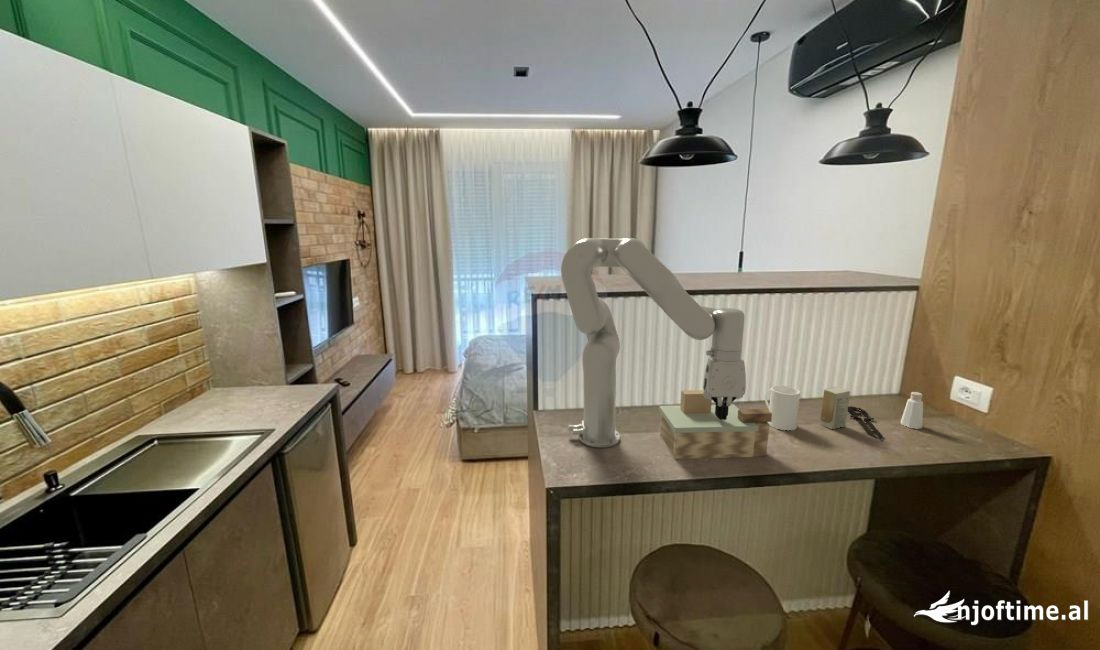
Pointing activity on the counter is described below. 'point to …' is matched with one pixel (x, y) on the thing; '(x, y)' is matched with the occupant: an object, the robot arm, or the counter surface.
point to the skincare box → (834, 407)
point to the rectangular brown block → (754, 415)
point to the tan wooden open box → (715, 442)
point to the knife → (866, 422)
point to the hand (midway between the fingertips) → (721, 417)
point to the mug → (783, 407)
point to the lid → (702, 416)
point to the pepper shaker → (913, 412)
